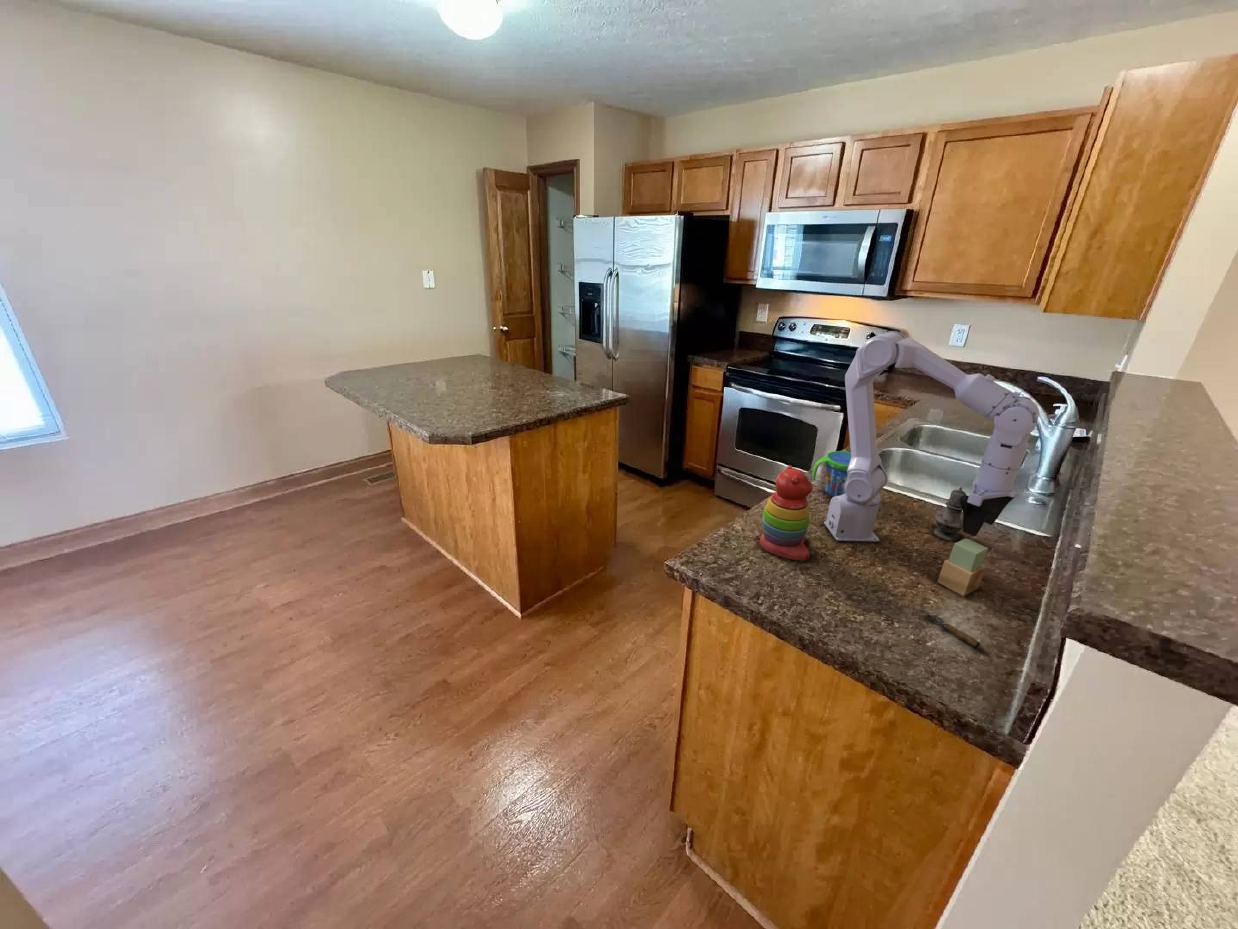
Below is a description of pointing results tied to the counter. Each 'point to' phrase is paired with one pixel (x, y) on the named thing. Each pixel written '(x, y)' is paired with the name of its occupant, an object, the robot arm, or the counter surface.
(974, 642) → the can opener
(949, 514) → the grey fire hydrant
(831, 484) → the snack cup
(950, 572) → the base block
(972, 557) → the top cube
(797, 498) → the stacking bear
